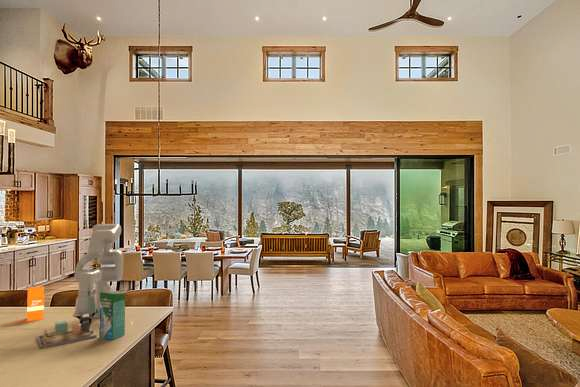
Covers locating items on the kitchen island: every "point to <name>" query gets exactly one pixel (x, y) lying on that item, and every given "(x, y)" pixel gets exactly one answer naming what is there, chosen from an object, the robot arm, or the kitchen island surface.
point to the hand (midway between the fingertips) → (85, 325)
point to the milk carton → (112, 315)
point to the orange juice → (35, 303)
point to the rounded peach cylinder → (76, 329)
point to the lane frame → (62, 341)
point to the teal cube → (61, 327)
